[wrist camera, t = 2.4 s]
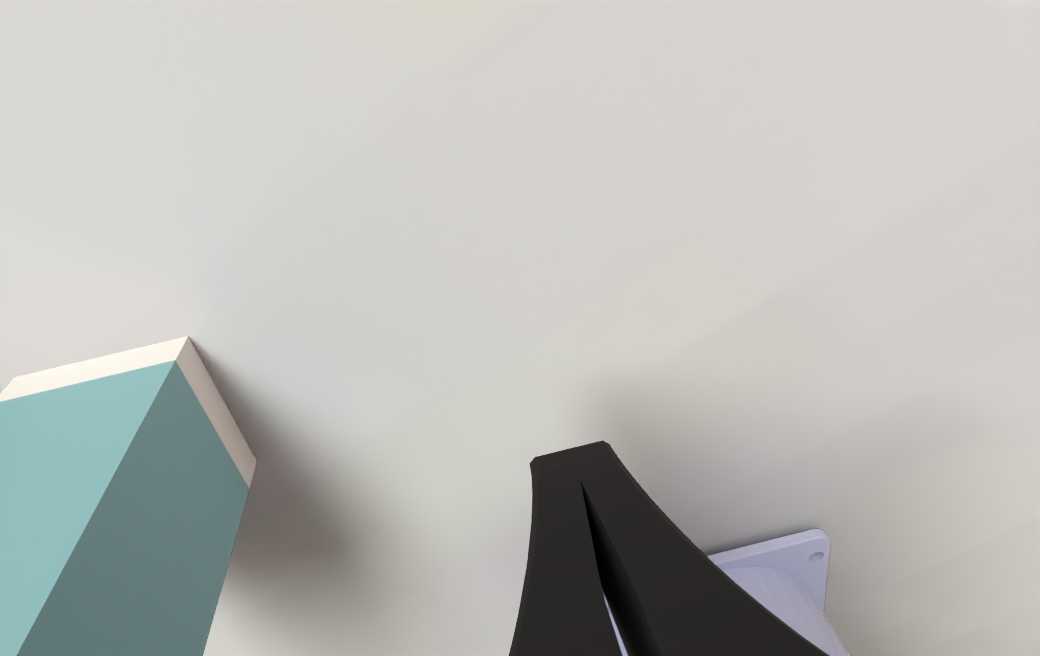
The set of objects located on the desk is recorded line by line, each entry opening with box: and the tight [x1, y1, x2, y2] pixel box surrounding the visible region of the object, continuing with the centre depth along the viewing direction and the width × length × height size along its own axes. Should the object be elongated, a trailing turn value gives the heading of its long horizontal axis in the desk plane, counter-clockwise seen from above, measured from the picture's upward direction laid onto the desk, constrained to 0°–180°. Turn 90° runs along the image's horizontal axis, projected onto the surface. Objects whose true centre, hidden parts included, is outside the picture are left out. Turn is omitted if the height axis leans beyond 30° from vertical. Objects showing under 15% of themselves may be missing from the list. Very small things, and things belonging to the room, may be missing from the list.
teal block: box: [0, 336, 257, 656], centre depth 13 cm, size 4×4×8 cm
